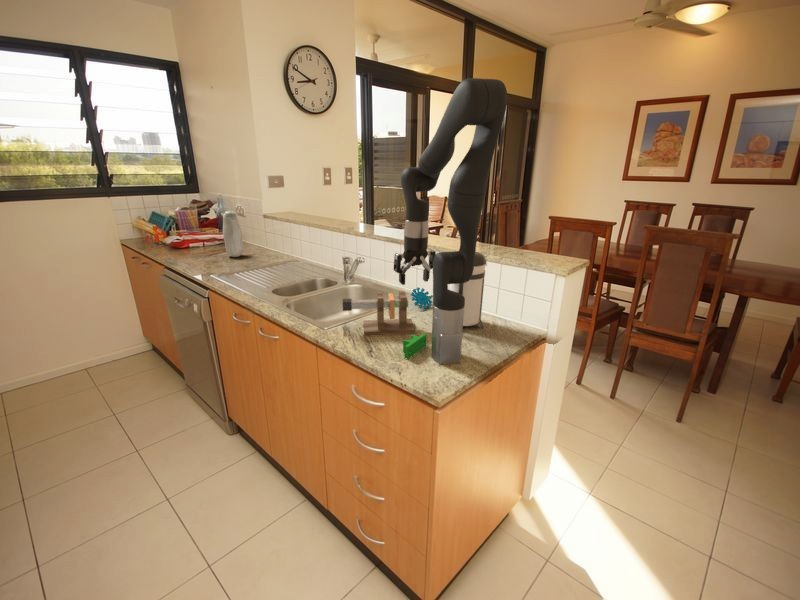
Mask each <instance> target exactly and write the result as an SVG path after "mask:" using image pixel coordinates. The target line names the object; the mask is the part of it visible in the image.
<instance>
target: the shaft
mask: <svg viewBox="0 0 800 600" xmlns="http://www.w3.org/2000/svg"><path fill="white" fill-rule="evenodd" d="M394 299H395V308H399V307H400V299H399V298H394ZM377 308H378V301H377V298H375V299H373V298H372V299H352V298H342V311H343V312H350V311H352V310H358V309H359V310H361V309H362V310H363V309H366V310H367V309H377ZM388 308H390V301H389V299H388V298H384V309H388ZM407 308H409V299H408V298H407Z"/></svg>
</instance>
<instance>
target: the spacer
mask: <svg viewBox="0 0 800 600" xmlns="http://www.w3.org/2000/svg"><path fill="white" fill-rule="evenodd" d="M387 297H388V298H387V299H389V301H390V308H387V309H388V314H389V315H388V316H389V320H394V319H395V317H396V316H395V313H396V312H395V311H396V309H395V308H396V307H395V299H396V298H395V297H394V294H393V293H388V295H387Z"/></svg>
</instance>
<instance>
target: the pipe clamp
mask: <svg viewBox="0 0 800 600" xmlns="http://www.w3.org/2000/svg"><path fill="white" fill-rule="evenodd" d="M426 347H427V333H424V332H423V333H422V334H421V335H419V336H418V335H416V334H410V339H403V340H402V353H403V352H404V353H403V354H404V359H405V358H407V359H408V358H409V359H410V357H411V356H412V357H413V356H415V355H416V354H418V353H419V352H421V351H422V350H423V349H425V348H426ZM414 354H415V355H414ZM412 357H411V358H412ZM407 359H406V360H407ZM409 359H408V360H409Z"/></svg>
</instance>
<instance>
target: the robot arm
mask: <svg viewBox="0 0 800 600" xmlns="http://www.w3.org/2000/svg"><path fill="white" fill-rule="evenodd" d="M507 105H508V90H507V87H506V85H505V83H504V82H503V81H502V80H500V79H497V78H496V79H495V78H479V77H478V78H477V77H475V78H474V77H473V78H466V79H464V80H462V81H461V82H460V83H459V84H458V85H457V87H456V89H455V90H454V92H453V93H452V96H451V97H450V100H449V102H448V105H447V106H446V108H445V111H444V114H443V115H442V117H441V120H440V123H439V125H438V127H437V129H436V132H435V134H434V135H433V137H432V138H431V140H430V142H429V144H428V145H427V146H426V148H425V149H424V151H423V152H422V154H421V155H420V156H419V159H418V161H417V162H418V163H417V164H418V166H417V167H416V166H409V167H405V168H404V170H403V171H402V173H401V177H400V184H401V189H402V192H403V197H404V198H403V199H404V203H405V222H404V230H403V235H404V237H403V248H404V249H403V250H404V251H403V253H398V252H395V253H394V259H393V260H394V261H393V271H394V272H395V273H397V274H398V282H399V283H400V284H401V285H402V286H404V285H406V272H407V271H408V270H410V268H411V267H415V266H422V267H423V268H424V269H423V270H422V271H423V272H422V273H423V276H422V280H423V281H424V282H428V281H429V279H430V271H431V270H432V295H433V297H432V319H431V320H432V322H431V324H432V327H431V350H430V351H431V352H430V356H431V359H433V361H435V362H437V363H438V364H440V365H445V364H446V363H447V364H446V365H448V363H449V364H459V363H460V360H461V359H462V358H461V357H462V343H463V334H464V333H463V332H464V331H463V329H464V326H463V318H464V306H465V298H464V296H463V295H461V294H460V293H457V292H454V291H451V290H449V284H458V283H466V282H468V281H469V280H470V279H471V277H472V274H473V269H474V261H475V251H476V250H477V241H478V240H477V239H478V235H479V228H480V223H481V217H482V212H483V209H484V205H485V204H484V203H485V199H486V193H487V189H488V188H487V187H488V181H489V176H490V171H491V166H492V162H493V157H494V152H495V150H496V145H497V142H498V140H499V135H500V132H501V128H502V126H503V123H504V122H503V121H504V119H505V114H506V111H507ZM467 126H475V130H474V133H473V134H474V135H473V139H472V142H471V145H470V147H469V149H468V151H467V152H466V154H465V156H464V157H463V159H462V160H461V162H460V163H459V165H458V166H457V168H456V170H455V171H454V173H453V175H452V177H451V180H450V184H449V189H448V195H447V202H446V203H447V210H448V212H449V215H450V217H451V220H452V222H453V223H454V225H455V228H456V230H457V232H458V235H459V240H460V241H459V243H460V245H459V250H458V251H454V250H453V251H439V252H436V251H435V250H433V249H432V248H431V249H429V250H428V247H429V245H428V244H429V227H430V226H429V216H430V215H429V213H430V205H429V202H428V201H427V200H425V199H422V198H421V199H420V198H418V196H417V193H421V192H422V193H423V192H424V193H425V192H430V191H432V190H433V189H435V187H436V186H437V183H438V180H439V177H440V175H441V172H442V171H443V170H444V169H445V167H446V166H447V165H448V164H449V162H450V161H451V159H452V158H453V156H454V154H455V147H456V146H455V145H456V143H455V142H456V141H455V140H456V136H457V135H458V134H459V133H460V132H461V131H462V130H463V129H464V128H466V127H467ZM476 252H477V251H476ZM427 257H428V262H427V261H426V258H427ZM403 259H404V260H403Z"/></svg>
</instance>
